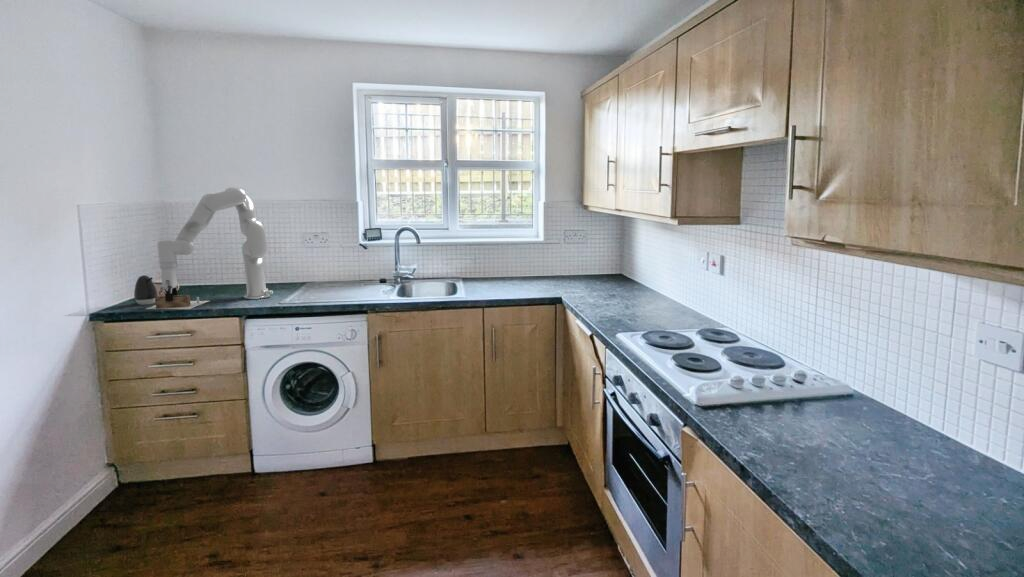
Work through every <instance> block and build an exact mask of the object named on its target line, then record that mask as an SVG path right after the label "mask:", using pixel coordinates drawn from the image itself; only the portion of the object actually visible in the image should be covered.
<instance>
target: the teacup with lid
mask: <svg viewBox="0 0 1024 577" xmlns="http://www.w3.org/2000/svg"><path fill="white" fill-rule="evenodd" d="M153 283H154V285H155V287H156V290H157V293H158V296H165V289H162V276H160V278H158V279H156V280H154V281H153ZM176 287H177V289H176V290H177V292H178V291H179V289H180V285H179V283H178V282H177V286H176Z"/></svg>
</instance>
